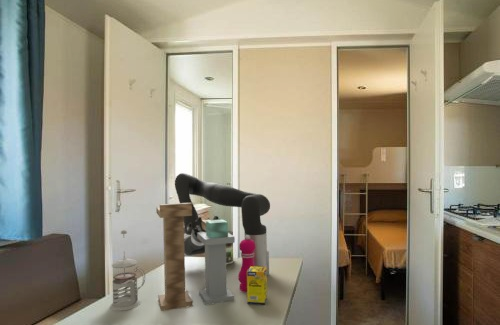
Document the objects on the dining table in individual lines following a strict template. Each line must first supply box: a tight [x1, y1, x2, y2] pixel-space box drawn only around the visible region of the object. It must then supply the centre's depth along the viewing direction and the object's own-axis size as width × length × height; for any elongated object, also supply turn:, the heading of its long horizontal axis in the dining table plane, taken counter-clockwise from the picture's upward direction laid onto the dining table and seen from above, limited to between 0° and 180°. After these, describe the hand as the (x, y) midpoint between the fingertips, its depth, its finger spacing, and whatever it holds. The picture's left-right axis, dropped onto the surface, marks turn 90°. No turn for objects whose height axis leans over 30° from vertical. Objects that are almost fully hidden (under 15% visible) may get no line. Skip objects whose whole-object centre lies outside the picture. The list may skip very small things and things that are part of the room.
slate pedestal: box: [197, 232, 236, 306], centre depth 121 cm, size 10×13×22 cm
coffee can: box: [226, 230, 234, 266], centre depth 166 cm, size 10×10×14 cm
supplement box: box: [246, 266, 268, 306], centre depth 117 cm, size 6×6×11 cm
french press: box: [109, 229, 146, 311], centre depth 117 cm, size 10×12×25 cm
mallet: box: [201, 219, 229, 239], centre depth 125 cm, size 6×21×5 cm, turn 20°
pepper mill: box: [237, 235, 256, 293], centre depth 129 cm, size 7×7×20 cm
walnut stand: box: [155, 202, 194, 311], centre depth 117 cm, size 10×13×34 cm
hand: (208, 218), depth 130 cm, fingers open, 5 cm apart
